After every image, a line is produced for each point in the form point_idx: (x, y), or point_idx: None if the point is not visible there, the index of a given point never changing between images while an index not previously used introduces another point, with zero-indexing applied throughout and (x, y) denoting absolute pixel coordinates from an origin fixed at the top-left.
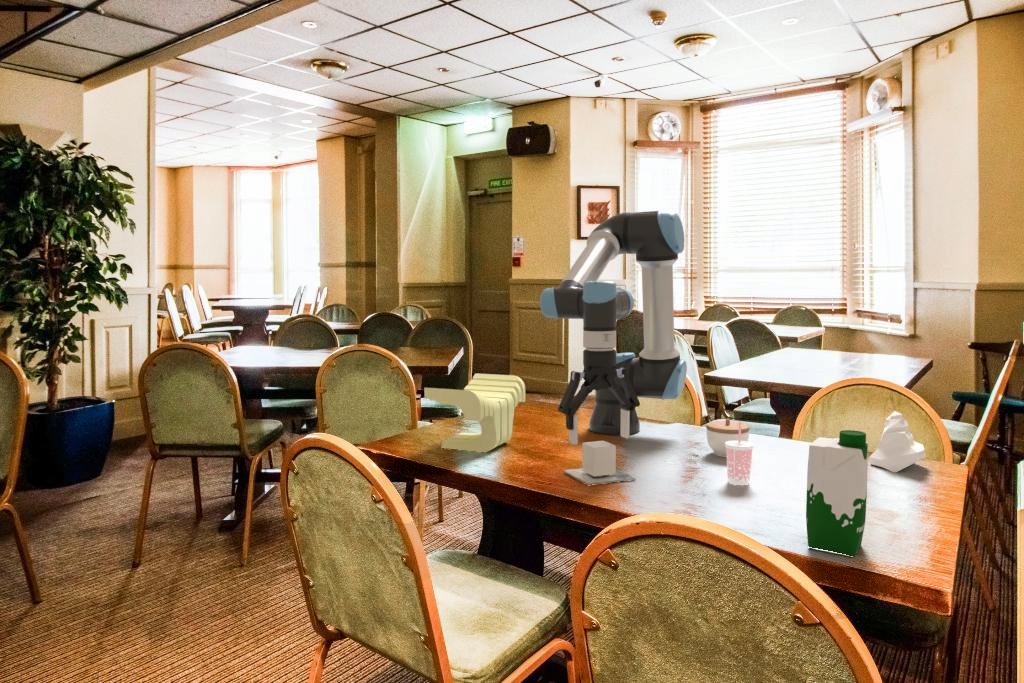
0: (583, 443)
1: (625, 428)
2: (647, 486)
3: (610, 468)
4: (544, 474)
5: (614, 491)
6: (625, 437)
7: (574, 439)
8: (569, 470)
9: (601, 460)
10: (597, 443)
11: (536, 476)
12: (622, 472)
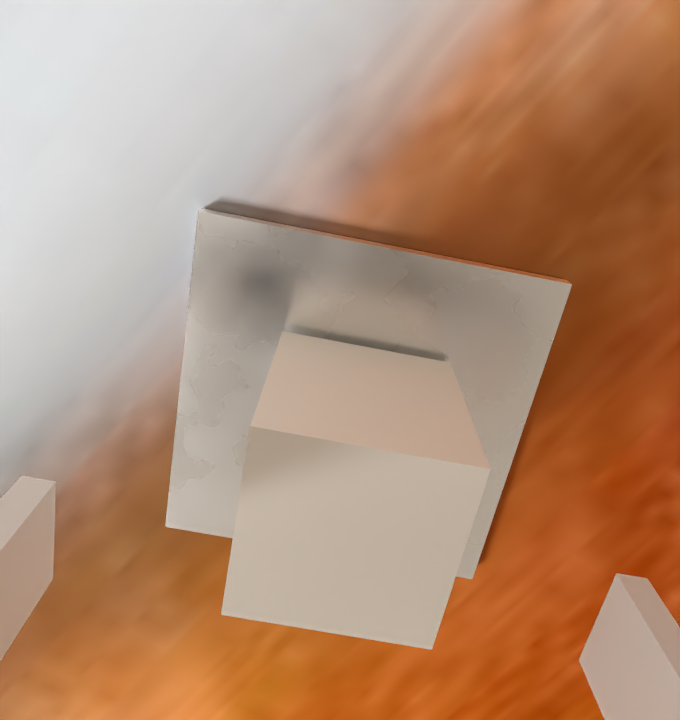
0: (437, 631)
1: (2, 571)
2: (224, 30)
3: (320, 354)
4: (577, 599)
5: (516, 78)
6: (52, 504)
7: (668, 621)
8: None
9: (400, 398)
10: (341, 569)
11: None
12: (191, 357)
